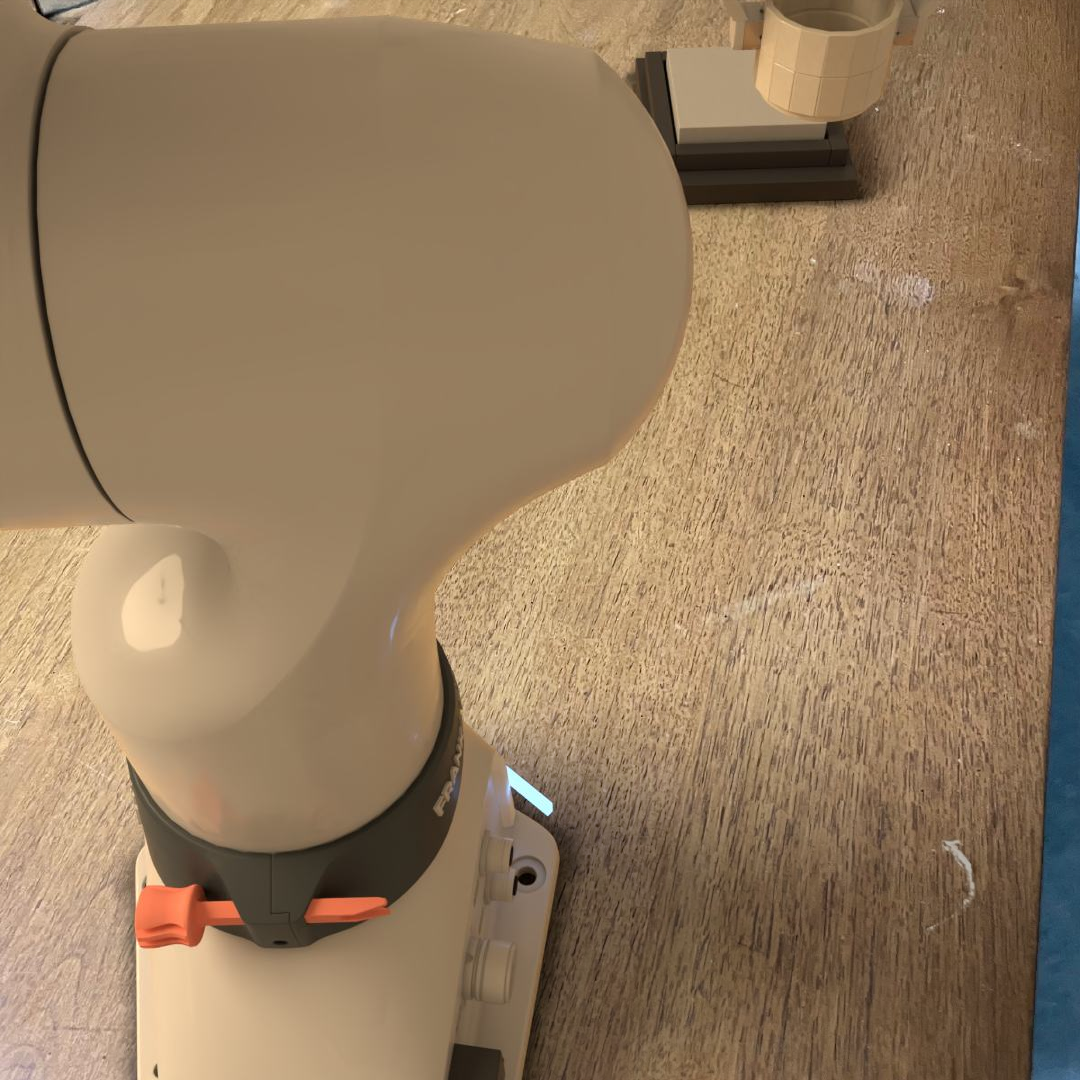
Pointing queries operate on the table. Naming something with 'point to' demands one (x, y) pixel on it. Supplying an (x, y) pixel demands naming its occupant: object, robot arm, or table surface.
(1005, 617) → the table surface
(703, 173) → the scale
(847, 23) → the bowl
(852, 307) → the table surface
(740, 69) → the platform
